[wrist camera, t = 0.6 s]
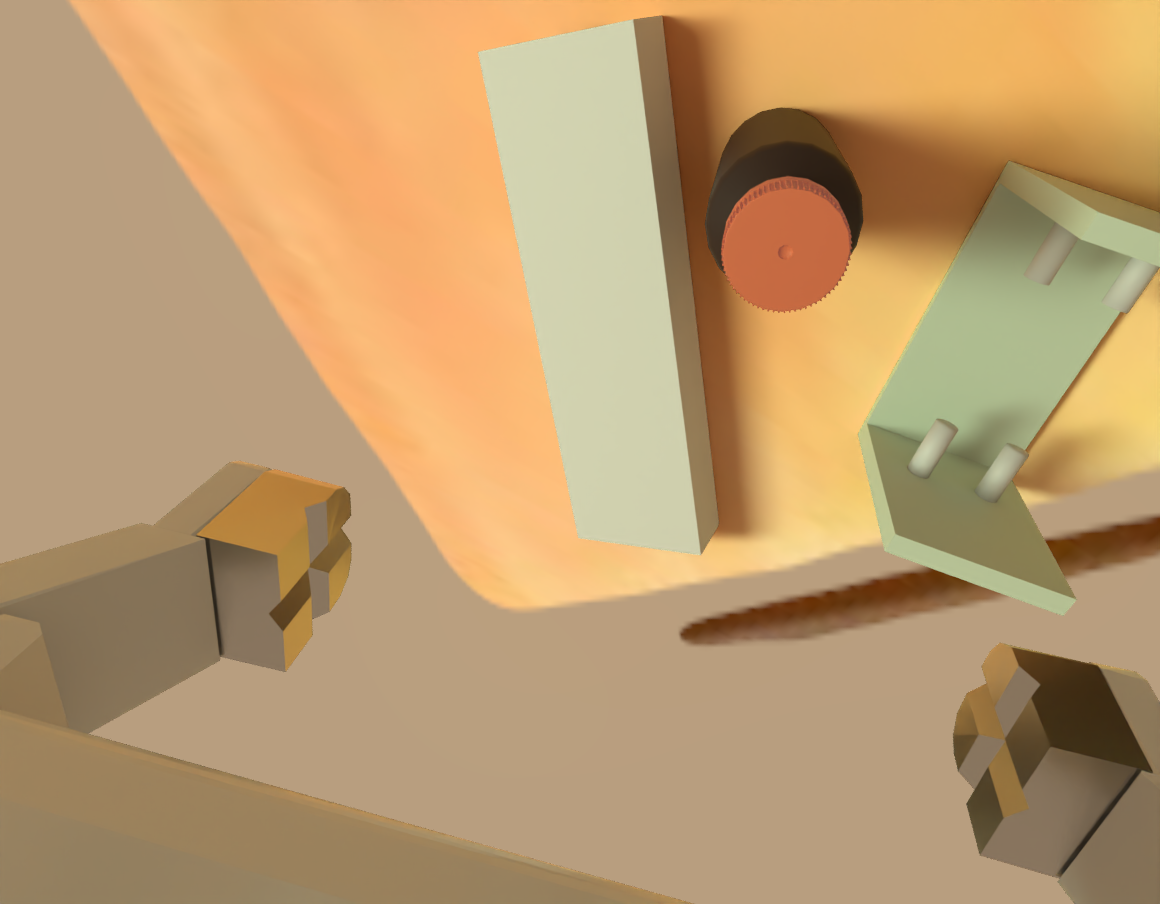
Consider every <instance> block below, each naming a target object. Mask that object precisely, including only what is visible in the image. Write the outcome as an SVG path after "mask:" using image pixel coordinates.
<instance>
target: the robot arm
mask: <svg viewBox="0 0 1160 904" xmlns="http://www.w3.org/2000/svg"><path fill="white" fill-rule="evenodd" d="M350 516H351V502H350V494H349V493H348V491H347V490H346V489H345V488H344V487H341V486H337V485H333V484H329V483H326V482H321V481H318V480H314V479H310V478H306V477H303V476H299V475H295V474H291V473H287V472H283V471H280V470H275V469H274V470H272V469H270V468H267V467H263V466H259V465H255V464H250V463H246V462H242V461H235V462H229V463H228V464H226V465H225V466H224V467H223V468H222V469H220V470H219V471H218V472H217V473H216V474H214V475H213V476H212V477H211V478H210V479H208V480H207V481H206V482H205V483H204V484H203V485H201V486H200V487H199V488H198V489H196V490H195V491H194V492H193V493H192V494H190V495H189V496H188V497H187V498H186V499H184V500H183V501H182V502H181V503H180V504H178V505H177V506H176V507H175V508H174V509H172V510H171V511H170V512H169V513H168V514H166V515H165V516H164V517H163V518H162V519H160V520H159V521H158V522H157V523H156V524H154V525H153V526H151V525H148V524H143V523H140V524H136V525H133V526H130V527H126V528H123V529H119V530H116V531H112V532H109V533H105V534H102V535H98V536H95V537H91V538H88V539H85V540H81V541H78V542H74V543H71V544H67V545H64V546H60V547H57V548H53V549H50V550H47V551H43V552H40V553H36V554H33V555H29V556H26V557H22V558H19V559H15V560H12V561H9V562H5V563H2V564H0V904H693V903H690V902H686V901H682V900H679V899H675V898H671V897H668V896H665V895H661V894H657V893H654V892H650V891H647V890H643V889H639V888H636V887H632V886H629V885H625V884H622V883H618V882H615V881H611V880H607V879H604V878H601V877H596V876H593V875H590V874H586V873H583V872H579V871H576V870H572V869H568V868H565V867H561V866H558V865H554V864H551V863H547V862H543V861H540V860H536V859H533V858H529V857H525V856H522V855H518V854H515V853H511V852H508V851H504V850H501V849H497V848H493V847H490V846H486V845H483V844H479V843H476V842H472V841H469V840H465V839H462V838H457V837H454V836H451V835H447V834H444V833H440V832H436V831H433V830H429V829H426V828H422V827H419V826H415V825H412V824H407V823H404V822H401V821H397V820H394V819H390V818H386V817H383V816H379V815H376V814H372V813H369V812H365V811H362V810H358V809H355V808H351V807H347V806H344V805H340V804H337V803H333V802H330V801H326V800H323V799H319V798H315V797H312V796H308V795H304V794H301V793H297V792H294V791H290V790H287V789H283V788H280V787H276V786H273V785H269V784H266V783H262V782H258V781H254V780H251V779H248V778H244V777H241V776H237V775H233V774H230V773H226V772H222V771H219V770H216V769H212V768H208V767H205V766H201V765H198V764H194V763H191V762H187V761H184V760H180V759H176V758H173V757H169V756H166V755H162V754H158V753H155V752H151V751H148V750H144V749H141V748H137V747H133V746H130V745H127V744H123V743H119V742H116V741H112V740H109V739H105V738H102V737H98V736H94V735H91V734H88V733H90V732H92V731H93V730H95V729H97V728H99V727H101V726H103V725H104V724H106V723H108V722H110V721H111V720H113V719H115V718H117V717H119V716H121V715H122V714H124V713H126V712H128V711H130V710H131V709H133V708H135V707H137V706H139V705H141V704H142V703H144V702H146V701H147V700H150V699H151V698H153V697H155V696H157V695H159V694H160V693H162V692H164V691H166V690H167V689H169V688H171V687H173V686H175V685H177V684H179V683H180V682H182V681H184V680H186V679H188V678H189V677H191V676H193V675H195V674H197V673H198V672H200V671H202V670H204V669H206V668H207V667H209V666H211V665H213V664H215V663H216V662H218V661H220V657H224V658H228V659H233V660H236V661H241V662H245V663H250V664H254V665H258V666H262V667H267V668H271V669H275V670H279V671H283V672H286V671H287V669H288V668H289V667H290V665H291V664H292V663H293V661H294V660H295V659H296V657H297V656H298V654H299V653H300V652H301V650H302V649H303V648H304V646H305V645H306V643H307V642H308V641H309V639H310V638H311V637H312V635H313V631H312V619H314V618H316V617H319V616H321V615H323V614H325V613H328V612H330V610H331V609H332V608H333V606H334V605H335V603H336V602H337V600H338V599H339V597H340V596H341V593H342V591H343V588H344V586H345V583H346V581H347V578H348V575H349V570H350V563H351V542H350V540H349V539H348V537H347V536H346V534H345V533H344V532H343V530H342V529H341V527H342V526H343V525H344V524H345V523H346V521H347V520H348V519H349V518H350ZM982 670H983V673H984V676H985V679H986V682H987V684H985V685H983V686H981V687H978V688H976V689H975V690H972V691H970V692H968V693H967V694H966V696H965V698H964V701H963V702H962V704H961V706H960V709H959V710H958V713H957V717H956V722H955V728H954V733H953V746H954V756H955V760H956V764H957V769H958V772H959V773H960V774H961V775H962V776H963V777H964V778H965V780H967V782H969V784H970V785H971V786H972V787H973V788H974V789H975V790H974V792H973V793H972V795H971V797H970V798H969V800H968V802H967V804H966V805H967V808H968V812H969V816H970V820H971V824H972V827H973V831H974V835H975V839H976V843H977V847H978V850H979V854H980V856H984V857H987V858H990V859H994V860H997V861H1001V862H1004V863H1008V864H1011V865H1014V866H1018V867H1021V868H1025V869H1028V870H1032V871H1035V872H1039V873H1042V874H1045V875H1049V876H1052V877H1056V878H1059V880H1058V883H1059V884H1060V886H1061V887H1062V888H1063V890H1064V891H1065V892H1066V893H1067V895H1068V896H1069V897H1070V899H1071V900H1072V901H1073V903H1074V904H1160V702H1159V700H1158V698H1157V697H1156V695H1155V693H1154V692H1153V690H1152V688H1151V686H1150V685H1149V683H1148V681H1147V680H1146V679H1145V678H1143V677H1142V676H1141V675H1140V674H1138V673H1137V672H1135V671H1130V670H1125V669H1121V668H1116V667H1111V666H1106V665H1101V664H1097V663H1091V662H1089V663H1085V662H1081V661H1076V660H1072V659H1068V658H1063V657H1059V656H1055V655H1050V654H1046V653H1042V652H1037V651H1033V650H1029V649H1024V648H1020V647H1016V646H1012V645H1007V644H1003V643H999V644H998V645H997V646H996V647H994V648H993V649H992V650H991V651H990V653H989V654H988V656H987V658H986V660H985V661H984V663H983V665H982Z"/></svg>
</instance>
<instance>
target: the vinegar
mask: <svg viewBox="0 0 1160 904" xmlns="http://www.w3.org/2000/svg"><path fill="white" fill-rule="evenodd" d="M862 223H863V210H862V195H861V193H860V190H859V188H858V186H857V183H856V181H855V179H854V176H853V174H852V172H851V170H850V168H849V167H848V165H847V163H846V161H845V160H844V158H843V156H842V155H841V153H840V151H839V149H838V148H837V146H836V144H835V143H834V141H833V139H832V137H831V136H830V134H829V132H828V131H827V130H826V129H825V128H824V127H823V126H822V124H821V123H820V122H819V121H818V120H817V119H816V118H814V117H812V116H810V115H808V114H806V113H804V112H802V111H800V110H797V109H788V108H776V109H771V110H767V111H762V112H760V113H758V114H757V115H755V116H753V117H751V118H750V119H748V120H746V121H744V123H743V124H742V125H741V126H740V127H739V128H738V129H737V130H736V131H735V132H734V133H733V134H732V135H731V137H730V139H729V141H728V143H727V145H726V147H725V149H724V151H723V153H722V157H721V160H720V164H719V167H718V170H717V174H716V177H715V181H714V184H713V187H712V191H711V194H710V198H709V202H708V208H707V214H706V220H705V227H706V234H707V240H708V247H709V249H710V251H711V253H712V255H713V257H714V259H715V261H716V263H717V265H718V267H719V268H720V269H721V270H722V271H723V272H724V273H725V276H728V279H727V281H729V280H730V285H733V290H734V289H735V290H736V294H737V293H740V297H742V296H743V297H744V300H747V301H748V303H750V302H751V303H753V306H754V305H757V308H759V307H761V308H762V310H764V309H768V311H769V310H773V312H774V311H778V313H779V312H780V311H782V312H784V313H785V311H789V312H790V310H794V311H795V312H796V309H800V310H801V309H802V308H804V307H805V309H806V306H809V305H810V306H812V304H813V303H815V304H817V301H819V300H820V301H822V300H821V299H822V298H823V297H825V298H826V294H827V293H829V294H830V291H831V290H832V289H833V290H835V289H834V287H835V286H836V285H837V286H838V281H842V280H841V276H844V272H845V271H847V269H846V266H849V264H848V260H851V259H850V255H851V254H852V252H853V250H854V249H855V247H856V246H857V242H858V238H859V234H860V231H861V227H862Z"/></svg>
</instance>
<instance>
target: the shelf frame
mask: <svg viewBox="0 0 1160 904" xmlns="http://www.w3.org/2000/svg"><path fill="white" fill-rule="evenodd" d="M1159 268H1160V212H1157V211H1154V210H1151V209H1148V208H1146V207H1143V206H1140V205H1137V204H1134V203H1131V202H1128V201H1125V200H1122V199H1119V198H1116V197H1114V196H1111V195H1108V194H1105V193H1102V192H1099V191H1096V190H1093V189H1090V188H1087V187H1084V186H1082V185H1079V184H1076V183H1073V182H1070V181H1067V180H1064V179H1061V178H1058V177H1055V176H1052V175H1050V174H1047V173H1044V172H1041V171H1038V170H1035V169H1032V168H1029V167H1026V166H1023V165H1021V164H1018V163H1015V162H1012V161H1008V163H1007V164H1006V166H1005V168H1004V170H1003V172H1002V173H1001V175H1000V177H999V179H998V181H997V183H996V184H995V186H994V188H993V190H992V192H991V193H990V195H989V197H988V199H987V201H986V202H985V204H984V206H983V208H982V210H981V212H980V213H979V215H978V217H977V219H976V221H975V222H974V224H973V226H972V228H971V230H970V231H969V233H968V235H967V237H966V239H965V241H964V242H963V244H962V246H961V248H960V250H959V251H958V253H957V255H956V257H955V259H954V261H953V262H952V264H951V266H950V268H949V270H948V271H947V273H946V275H945V277H944V279H943V280H942V282H941V284H940V286H939V288H938V290H937V291H936V293H935V295H934V297H933V299H932V300H931V302H930V304H929V306H928V308H927V309H926V311H925V313H924V315H923V317H922V319H921V320H920V322H919V324H918V326H917V328H916V329H915V331H914V333H913V335H912V337H911V338H910V340H909V342H908V344H907V346H906V348H905V349H904V351H903V353H902V355H901V357H900V358H899V360H898V362H897V364H896V366H895V367H894V369H893V371H892V373H891V375H890V377H889V378H888V380H887V382H886V384H885V386H884V387H883V389H882V391H881V393H880V395H879V397H878V398H877V400H876V402H875V404H874V406H873V407H872V409H871V411H870V413H869V415H868V416H867V418H866V420H865V422H864V424H863V426H862V427H861V429H860V431H859V433H858V437H859V441H860V446H861V450H862V455H863V459H864V463H865V468H866V472H867V476H868V481H869V485H870V489H871V494H872V498H873V502H874V507H875V511H876V516H877V520H878V524H879V529H880V533H881V537H882V542H883V546H884V550H885V552H888V553H891V554H893V555H896V556H899V557H902V558H905V559H907V560H910V561H913V562H916V563H918V564H921V565H924V566H926V567H929V568H932V569H935V570H938V571H940V572H943V573H946V574H949V575H951V576H954V577H957V578H960V579H962V580H965V581H968V582H971V583H974V584H976V585H979V586H982V587H985V588H987V589H990V590H993V591H996V592H998V593H1001V594H1004V595H1007V596H1010V597H1012V598H1015V599H1018V600H1021V601H1023V602H1026V603H1029V604H1032V605H1035V606H1037V607H1040V608H1043V609H1046V610H1048V611H1051V612H1054V613H1057V614H1059V615H1062V616H1064V614H1065V613H1066V612H1067V611H1068V610H1069V608H1070V607H1071V606H1072V605H1073V604H1074V602H1075V601H1076V600H1077V599H1076V597H1075V596H1074V594H1073V592H1072V590H1071V588H1070V586H1069V584H1068V583H1067V581H1066V579H1065V577H1064V575H1063V573H1062V571H1061V570H1060V568H1059V566H1058V564H1057V562H1056V560H1055V559H1054V557H1053V555H1052V553H1051V551H1050V549H1049V547H1048V546H1047V544H1046V542H1045V540H1044V538H1043V536H1042V535H1041V533H1040V531H1039V529H1038V527H1037V525H1036V523H1035V522H1034V520H1033V518H1032V516H1031V514H1030V512H1029V510H1028V509H1027V507H1026V505H1025V503H1024V501H1023V499H1022V497H1021V496H1020V494H1019V492H1018V490H1017V488H1016V486H1015V485H1014V483H1013V481H1012V479H1013V478H1014V476H1015V475H1016V473H1017V472H1018V471H1019V469H1020V468H1021V466H1022V465H1023V463H1024V462H1025V461H1026V459H1027V458H1028V456H1029V454H1028V453H1027V452H1026V451H1025V450H1026V448H1027V447H1028V445H1029V444H1030V442H1031V441H1032V439H1033V438H1034V437H1035V435H1036V434H1037V432H1038V431H1039V429H1040V428H1041V426H1042V425H1043V423H1044V422H1045V421H1046V419H1047V418H1048V416H1049V415H1050V413H1051V412H1052V410H1053V409H1054V408H1055V406H1056V405H1057V403H1058V402H1059V400H1060V399H1061V397H1062V396H1063V394H1064V393H1065V392H1066V390H1067V389H1068V387H1069V386H1070V384H1071V383H1072V381H1073V380H1074V379H1075V377H1076V376H1077V374H1078V373H1079V371H1080V370H1081V368H1082V367H1083V365H1084V364H1085V363H1086V361H1087V360H1088V358H1089V357H1090V355H1091V354H1092V352H1093V351H1094V350H1095V348H1096V347H1097V345H1098V344H1099V342H1100V341H1101V339H1102V338H1103V336H1104V335H1105V334H1106V332H1107V331H1108V329H1109V328H1110V326H1111V325H1112V323H1113V322H1114V320H1115V319H1116V318H1117V316H1118V315H1119V313H1120V312H1124V313H1128V312H1129V311H1130V309H1131V308H1132V307H1133V305H1134V304H1135V302H1136V301H1137V299H1138V298H1139V297H1140V295H1141V294H1142V292H1143V291H1144V289H1145V288H1146V286H1147V285H1148V284H1149V282H1150V281H1151V279H1152V278H1153V276H1154V275H1155V274H1156V272H1157V271H1158V269H1159Z"/></svg>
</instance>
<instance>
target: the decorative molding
mask: <svg viewBox="0 0 1160 904" xmlns="http://www.w3.org/2000/svg"><path fill="white" fill-rule="evenodd" d="M478 54H479V59H480V64H481V69H482V74H483V79H484V84H485V88H486V93H487V98H488V103H489V108H490V113H491V117H492V122H493V127H494V132H495V137H496V142H497V146H498V151H499V156H500V161H501V166H502V171H503V175H504V180H505V185H506V190H507V195H508V200H509V205H510V209H511V214H512V219H513V224H514V229H515V234H516V238H517V243H518V248H519V253H520V258H521V263H522V267H523V272H524V277H525V282H526V287H527V292H528V296H529V301H530V306H531V311H532V316H533V321H534V326H535V330H536V335H537V340H538V345H539V350H540V355H541V359H542V364H543V369H544V374H545V379H546V384H547V388H548V393H549V398H550V403H551V408H552V413H553V417H554V422H555V427H556V432H557V437H558V442H559V447H560V451H561V456H562V461H563V466H564V471H565V476H566V480H567V485H568V490H569V495H570V500H571V505H572V509H573V514H574V519H575V524H576V529H577V534H578V538H581V539H588V540H596V541H603V542H610V543H617V544H624V545H631V546H638V547H646V548H653V549H660V550H667V551H674V552H681V553H688V554H696V555H701V554H702V553H703V551H704V549H705V547H706V546H707V544H708V542H709V541H710V539H711V537H712V536H713V534H714V532H715V531H716V529H717V527H718V525H719V518H718V509H717V500H716V492H715V483H714V474H713V465H712V456H711V447H710V438H709V429H708V420H707V411H706V403H705V394H704V384H703V376H702V367H701V358H700V349H699V340H698V331H697V322H696V313H695V303H694V295H693V286H692V277H691V268H690V259H689V251H688V242H687V233H686V224H685V215H684V206H683V197H682V188H681V179H680V170H679V161H678V152H677V143H676V134H675V124H674V116H673V107H672V98H671V89H670V80H669V71H668V62H667V53H666V44H665V35H664V26H663V17H662V16H654V17H647V18H640V19H633V20H628V21H623V22H619V23H614V24H609V25H604V26H600V27H595V28H590V29H585V30H580V31H576V32H571V33H566V34H561V35H557V36H552V37H547V38H542V39H538V40H533V41H528V42H523V43H518V44H514V45H509V46H504V47H499V48H495V49H490V50H485V51H480V52H478Z"/></svg>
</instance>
